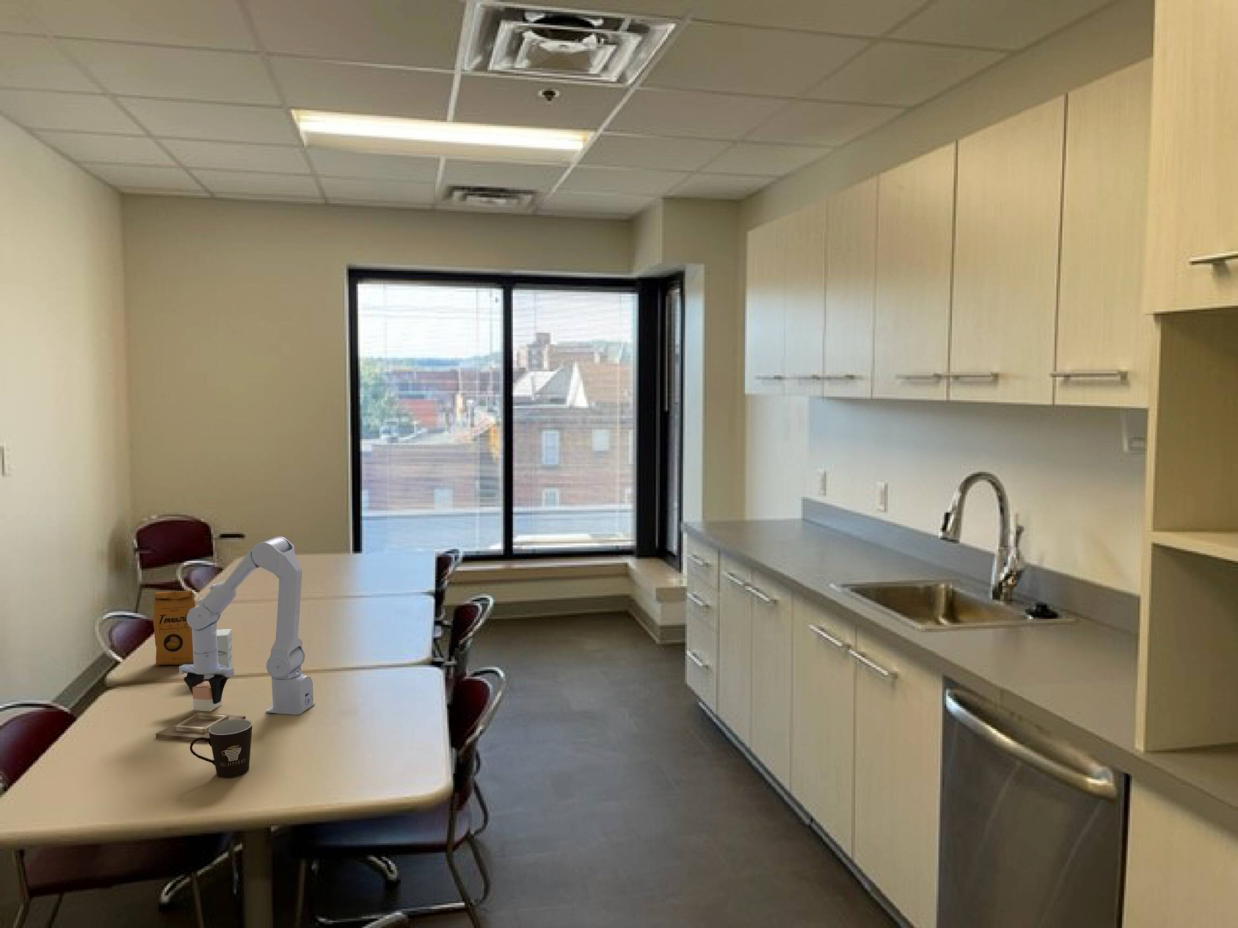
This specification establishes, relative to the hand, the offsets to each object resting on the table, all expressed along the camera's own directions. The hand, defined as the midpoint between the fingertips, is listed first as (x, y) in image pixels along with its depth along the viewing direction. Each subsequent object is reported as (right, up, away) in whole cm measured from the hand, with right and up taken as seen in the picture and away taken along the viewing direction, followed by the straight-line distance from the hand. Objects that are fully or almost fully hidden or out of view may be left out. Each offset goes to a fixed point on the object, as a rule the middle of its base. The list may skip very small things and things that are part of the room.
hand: (207, 701), depth 225 cm
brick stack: (0, -1, 0) cm, 1 cm away
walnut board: (+5, -3, -14) cm, 15 cm away
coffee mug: (+22, -5, -38) cm, 44 cm away
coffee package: (-26, +1, +37) cm, 45 cm away
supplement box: (-9, +1, +25) cm, 27 cm away
